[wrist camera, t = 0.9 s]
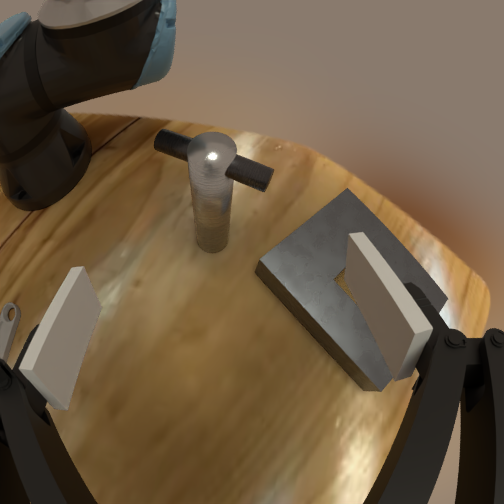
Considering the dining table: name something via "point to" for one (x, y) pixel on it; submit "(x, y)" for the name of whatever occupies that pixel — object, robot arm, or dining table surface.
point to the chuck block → (330, 293)
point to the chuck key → (213, 180)
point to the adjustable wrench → (8, 329)
